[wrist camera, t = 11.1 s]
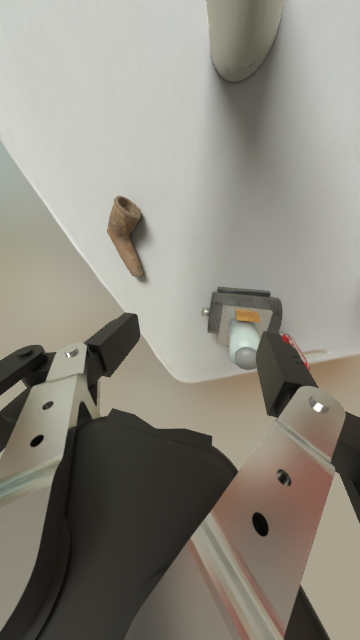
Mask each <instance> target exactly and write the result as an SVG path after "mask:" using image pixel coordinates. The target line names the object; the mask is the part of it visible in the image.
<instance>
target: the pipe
mask: <svg viewBox="0 0 360 640" xmlns="http://www.w3.org/2000/svg"><path fill="white" fill-rule="evenodd" d="M141 215H142V213H141V211H140V209H139V208H138V207H137V206H136V205H135V204H134V203H133V202H131V201H130V200H129V199H127V198H125V197H122V196H117V197H116V198H115V199H114V205H113V208H112V211H111V214H110V218H109V224H108V229H107V232H108V234H109V236H110V238H111V240H112V242H113V243H114V245H115V247H116V249H117V251H118V253H119V255H120V256H121V258H122V260H123V261H124V263H125V265H126V266H127V268H128V270H129V271H130V273H131V274H132V276H134V277H135V276H142V275H143V274H144V272H143V269H142V267H141V264H140V261H139V259H138V257H137V254H136V251H135V248H134V246H133V244H132V242H131V239H130V236H129V234H130V233H131V232H132V231H133V230H134V228H135V226H136V224H137V222H138V221H139V220H140V217H141Z"/></svg>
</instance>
